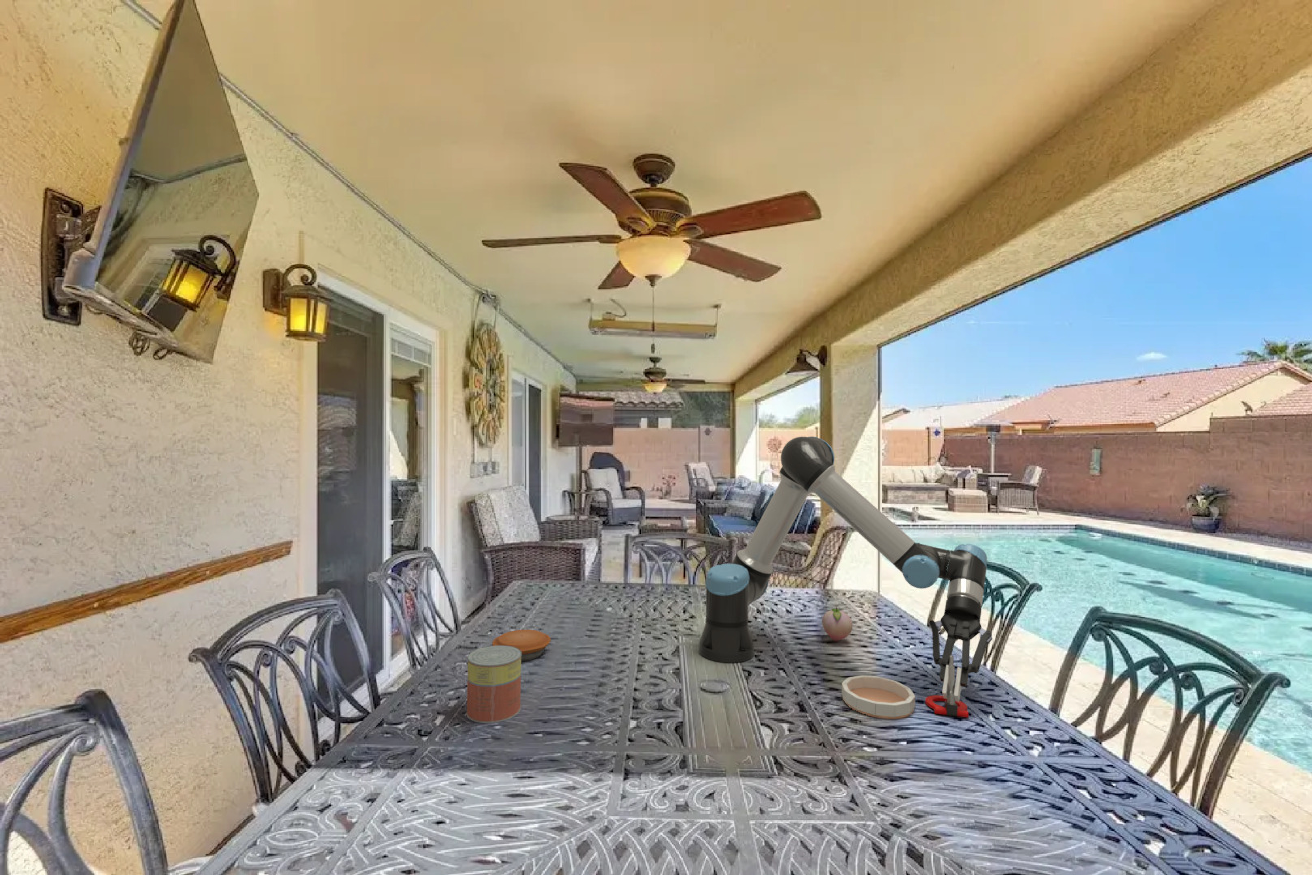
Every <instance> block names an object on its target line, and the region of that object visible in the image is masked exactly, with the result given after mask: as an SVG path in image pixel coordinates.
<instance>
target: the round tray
mask: <svg viewBox="0 0 1312 875" xmlns="http://www.w3.org/2000/svg"><path fill="white" fill-rule="evenodd" d="M841 696H842V701H843V700H844V701H845V703H846V704H847V705H848V706H850V707H851V708H852V709H851V708H850V707H849V708H850V709H851V710H852V711H855V710H856V711H855V712H857V711H858V712H857V713H859V712H860V713H859V714H861V713H862V715H864V714H866V715H865V716H867V715H868V716H867V717H871V718H876V719H881V718H884V720H900V719H904V718H905V719H906V718H908V717H911V716H912V715H913V713H914V710H915V709H916V695H915V693H914V692H913V690H912V689H911V688H910V687H908V686H906V685H904V684H903V683H901V682H899V681H896V680H892V679H890V678H886V677H882V676H876V675H875V676H873V675H863V674H862V675H854V676H849V677H847V678H846V679H845V680H843V682H842V681H841ZM844 701H843V702H844ZM845 703H844V704H845ZM846 704H845V705H846ZM847 705H846V706H847ZM848 706H847V707H848Z"/></svg>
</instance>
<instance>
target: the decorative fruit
mask: <svg viewBox="0 0 1312 875" xmlns="http://www.w3.org/2000/svg"><path fill="white" fill-rule="evenodd" d="M821 618H822V620H821V622H822V627H823V630H824V632H825V633H826V635H827V636H828V637H829V638H830V639H832V640H833V641H835V642H838V641H841V640H844V639H846V638H847V637H849V635H850V634H851V632H852V630H853V621H852V618H851V617H850V616H849V614H848V613H846V612H844V611H842V610H840V609H839V608H838V606H836V608H832V609H831V610H828V611H826V612H825V613H824V614H823V616H822V617H821Z"/></svg>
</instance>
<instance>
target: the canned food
mask: <svg viewBox="0 0 1312 875" xmlns="http://www.w3.org/2000/svg"><path fill="white" fill-rule="evenodd" d="M521 655H522V652H521V651H520V650H519V649H518V648H515V647H512V646H504V645H497V646H493V645H490V646H484V647H481V648H477V649H475V650H473V651H471V652H470V653H469V654H468V655H467V658H466V660H467V680H466V681H467V684H466V686H467V687H466V688H467V689H466V696H467V697H466V712H465V713H466V717H467V718H468V719H469V720H470V721H472V722H476V723H479V724H480V723H482V724H494V723H500V722H505V721H507V720H510V719H512V718H514V717H515V716H517V715H519V713H520V712H521V709H522V708H521V707H522V706H521V692H522V690H521V689H522V684H521V683H522V680H521V679H522V678H521V677H522V661H521Z"/></svg>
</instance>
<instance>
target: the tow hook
mask: <svg viewBox="0 0 1312 875" xmlns="http://www.w3.org/2000/svg"><path fill="white" fill-rule="evenodd" d="M954 660H955V659H954V655H953V654H952V655H950V663H949V665H948V691H947V699H945V698H944V697H943V695H939V694H937V695H935V694H933V695H929V696H926V697H925V700H924V701H925V705H926V706H927V707H929V708H931V709H933V712H934V714H935V715H942V716H946V717H947V716H948V717H953V718H955V717H956V718H957V717H959V718H969V711H968V705H967V704H966V703H964V702H963V701H962V700H959V702H957V701H955V698H954V690H955V665H954V663H955V662H954ZM936 702H944V706H942V705H940V704H937V703H936Z"/></svg>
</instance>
